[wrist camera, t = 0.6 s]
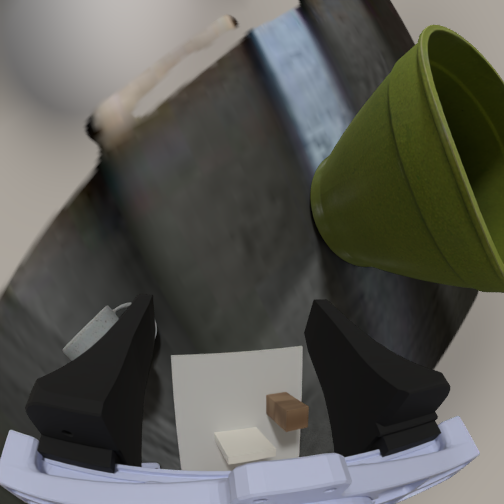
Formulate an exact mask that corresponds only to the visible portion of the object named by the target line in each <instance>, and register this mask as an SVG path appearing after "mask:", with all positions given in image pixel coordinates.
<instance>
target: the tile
mask: <svg viewBox="0 0 504 504" xmlns="http://www.w3.org/2000/svg"><path fill="white" fill-rule="evenodd" d="M214 437H215V441H216V443H217V445H218V447H219V449H220V450H221V452H222V454H223V456H224V458H225V460H226V461H227V463H228V465H229V464H236V463H242V462H248V461H254V460H259V459H264V458H269V457H274V456H276V448H275V447H274V446H273V445H272V444H271V443H270V441H269V440H268V439H267V438H266V437H265V436H264V435H263V434H262V433H261V432H260V431H259V429H258V428H257V427H252V428H245V429H238V430H231V431H222V432H214Z"/></svg>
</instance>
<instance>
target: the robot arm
mask: <svg viewBox="0 0 504 504" xmlns="http://www.w3.org/2000/svg"><path fill="white" fill-rule="evenodd" d="M155 332H156V327H155V317H154V305H153V295H148V294H139V295H137V297H136V298H135V299H134V301H133V302H132V303H131V305H130V306H129V307H128V308H127V310H126V311H125V312H124V313H123V315H122V316H121V317H120V318H119V319H118V321H117V322H116V323H115V324H114V325H113V326H112V327H111V328H110V329H109V330H108V331H107V332H106V334H105V335H104V336H103V337H102V338H100V339H99V340H98V341H97V342H96V343H95V344H94V345H93V346H92V347H90V348H89V349H88V350H87V351H85V352H84V353H83V354H81V355H80V356H79V357H77V358H76V359H74V360H73V361H71V362H70V363H68V364H66V365H65V366H63V367H61V368H59V369H58V370H56V371H54V372H52V373H50V374H47V375H45V376H43V377H41V378H39V379H37V380H36V382H35V384H34V386H33V388H32V391H31V393H30V396H29V399H28V401H27V404H26V407H25V409H26V413H27V415H28V416H29V418H30V420H31V421H32V422H33V424H34V425H35V426H36V428H37V429H38V430H39V432H40V433H41V438H40V441H39V440H37V439H36V438H34V437H31V436H29V435H25V434H22V433H19V432H16V431H13V430H9V433H8V436H7V439H6V442H5V446H4V449H3V452H2V456H1V459H0V485H1V486H3V487H4V488H5V489H7V490H8V491H10V492H11V493H12V494H14V495H15V496H17V497H18V498H20V499H21V500H23V501H24V502H26V503H28V504H396V503H398V502H401V501H403V500H405V499H408V498H410V497H412V496H414V495H416V494H418V493H421V492H423V491H425V490H427V489H429V488H431V487H433V486H435V485H437V484H439V483H441V482H443V481H445V480H447V479H449V478H451V477H452V476H453V475H455V474H456V473H457V472H459V471H460V470H461V469H463V468H464V467H465V466H466V465H468V464H469V463H470V462H471V461H472V460H474V459H475V458H476V457H477V456H478V455H479V454H480V452H479V450H478V449H477V447H476V445H475V443H474V441H473V439H472V438H471V436H470V434H469V432H468V430H467V429H466V427H465V425H464V423H463V422H462V420H461V418H460V416H456V417H453V418H451V419H448V420H446V421H444V422H441V423H440V424H439V425H437V424H436V422H435V420H436V419H437V417H438V416H437V414H436V413H435V411H436V410H437V409H438V407H439V406H440V405H441V404H442V402H443V401H444V400H445V398H446V397H447V396H448V394H449V391H450V385H449V383H448V382H447V381H446V379H445V377H444V376H443V374H442V373H441V372H438V371H435V370H432V369H429V368H426V367H423V366H420V365H418V364H416V363H413V362H411V361H409V360H407V359H405V358H403V357H401V356H399V355H397V354H395V353H393V352H392V351H390V350H388V349H387V348H385V347H384V346H382V345H381V344H379V343H378V342H376V341H375V340H373V339H372V338H371V337H369V336H368V335H367V334H365V333H364V332H363V331H362V330H360V329H359V328H358V327H357V326H356V325H354V324H353V323H352V322H351V321H350V320H349V319H348V318H346V317H345V316H344V315H343V314H342V313H341V312H340V311H339V310H338V309H337V308H335V307H334V306H333V305H332V304H331V303H330V302H328V301H327V300H314V301H313V305H312V308H311V312H310V315H309V319H308V322H307V325H306V329H305V332H304V333H305V338H306V343H307V348H308V352H309V355H310V357H311V360H312V363H313V366H314V368H315V371H316V374H317V376H318V379H319V382H320V384H321V387H322V390H323V393H324V397H325V401H326V405H327V409H328V414H329V419H330V424H331V430H332V437H333V443H334V452H335V453H326V454H319V455H312V456H306V457H298V458H290V459H281V460H270V461H259V462H253V463H247V464H244V465H241V466H238V467H236V468H235V469H234V470H232V471H185V470H167V469H160V465H159V464H158V463H142V457H141V448H142V417H143V403H144V394H145V388H146V383H147V378H148V374H149V369H150V364H151V360H152V355H153V351H154V342H155ZM155 468H158V469H155Z"/></svg>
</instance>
